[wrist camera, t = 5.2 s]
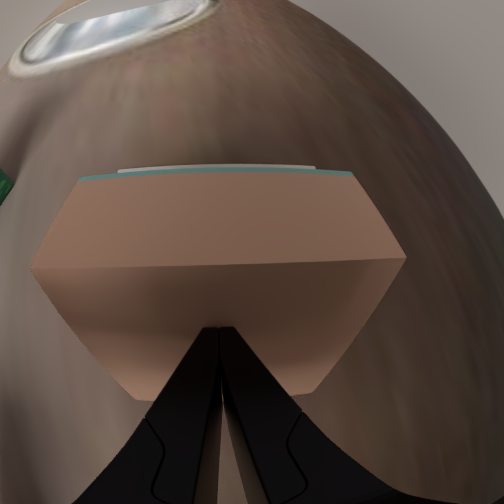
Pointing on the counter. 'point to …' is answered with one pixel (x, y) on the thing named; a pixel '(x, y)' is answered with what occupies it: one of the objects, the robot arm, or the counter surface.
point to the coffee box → (4, 185)
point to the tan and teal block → (217, 268)
